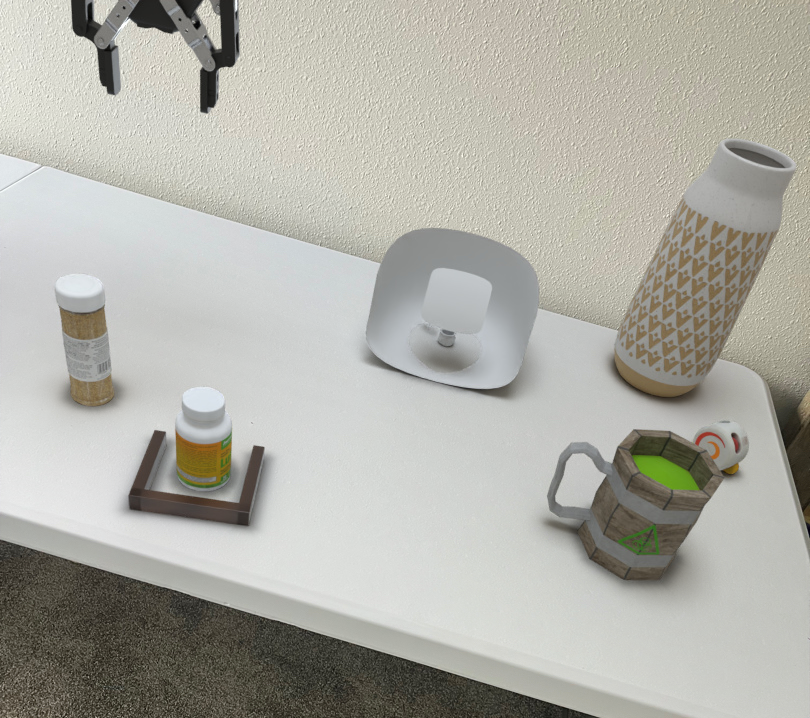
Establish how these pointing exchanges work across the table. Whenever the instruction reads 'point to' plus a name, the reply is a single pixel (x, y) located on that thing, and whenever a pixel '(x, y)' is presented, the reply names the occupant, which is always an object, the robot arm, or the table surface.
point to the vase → (703, 269)
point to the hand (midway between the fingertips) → (160, 101)
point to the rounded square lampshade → (454, 303)
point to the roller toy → (724, 444)
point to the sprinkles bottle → (85, 338)
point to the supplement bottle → (203, 440)
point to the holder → (191, 505)
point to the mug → (641, 501)
